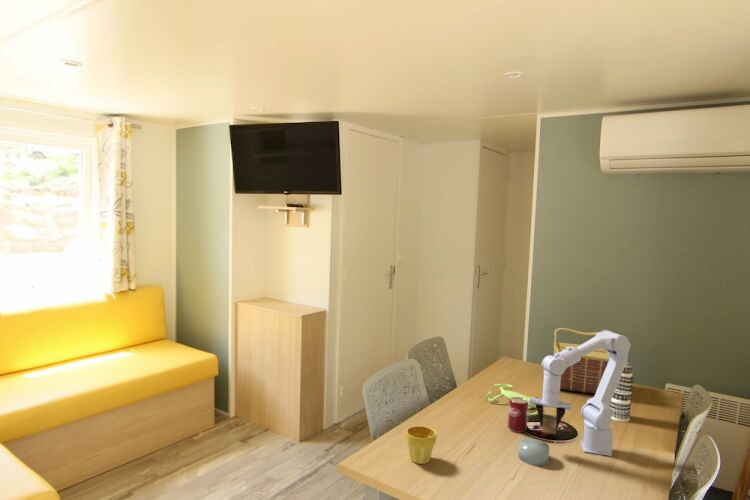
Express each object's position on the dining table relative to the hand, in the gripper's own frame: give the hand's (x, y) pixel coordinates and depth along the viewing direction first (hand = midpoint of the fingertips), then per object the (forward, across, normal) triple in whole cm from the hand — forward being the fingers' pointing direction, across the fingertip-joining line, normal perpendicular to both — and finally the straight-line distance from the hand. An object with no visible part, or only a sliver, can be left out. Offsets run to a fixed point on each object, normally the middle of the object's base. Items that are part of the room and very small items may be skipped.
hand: (548, 426), depth 172 cm
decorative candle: (+9, -33, -45) cm, 56 cm away
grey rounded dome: (+10, +5, +6) cm, 13 cm away
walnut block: (+2, 0, 0) cm, 2 cm away
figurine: (+10, +11, -45) cm, 48 cm away
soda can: (+10, +10, -16) cm, 22 cm away
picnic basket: (+9, -22, -79) cm, 82 cm away
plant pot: (+10, +43, +21) cm, 49 cm away
